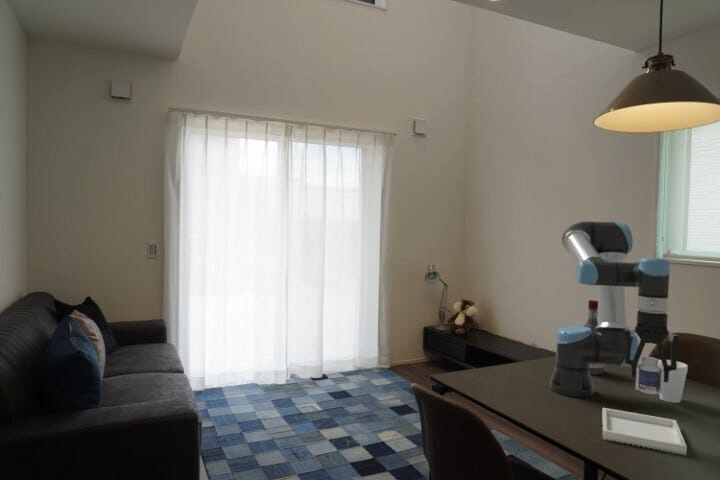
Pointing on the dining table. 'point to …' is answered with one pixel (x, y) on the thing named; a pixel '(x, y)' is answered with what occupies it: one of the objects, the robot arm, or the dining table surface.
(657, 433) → the tray
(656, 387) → the pill bottle
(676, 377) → the foam cup
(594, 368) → the liquor
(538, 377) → the dining table surface
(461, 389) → the dining table surface
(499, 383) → the dining table surface
